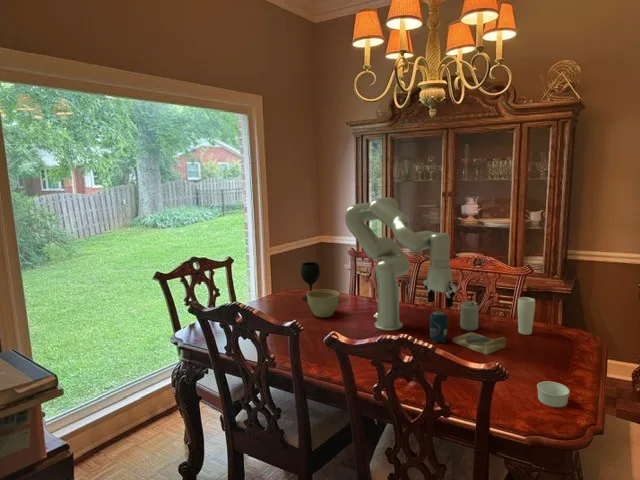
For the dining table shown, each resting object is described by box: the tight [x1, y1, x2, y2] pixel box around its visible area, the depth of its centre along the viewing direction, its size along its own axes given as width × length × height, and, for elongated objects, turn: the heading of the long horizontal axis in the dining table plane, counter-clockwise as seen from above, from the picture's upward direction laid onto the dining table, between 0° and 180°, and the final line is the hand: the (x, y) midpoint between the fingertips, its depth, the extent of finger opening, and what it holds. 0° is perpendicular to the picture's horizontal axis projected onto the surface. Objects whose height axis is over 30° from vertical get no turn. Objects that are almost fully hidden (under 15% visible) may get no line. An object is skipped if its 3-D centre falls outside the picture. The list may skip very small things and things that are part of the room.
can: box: [459, 300, 479, 332], centre depth 199 cm, size 8×8×12 cm
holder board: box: [452, 331, 507, 356], centre depth 182 cm, size 16×12×4 cm
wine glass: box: [300, 261, 321, 302], centre depth 250 cm, size 10×10×20 cm
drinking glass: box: [517, 296, 536, 336], centre depth 192 cm, size 7×7×15 cm
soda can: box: [429, 310, 448, 343], centre depth 187 cm, size 7×7×12 cm
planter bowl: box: [306, 289, 340, 318], centre depth 223 cm, size 16×16×11 cm
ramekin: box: [536, 380, 571, 408], centre depth 138 cm, size 9×9×4 cm
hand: (440, 304), depth 185 cm, fingers open, 9 cm apart
